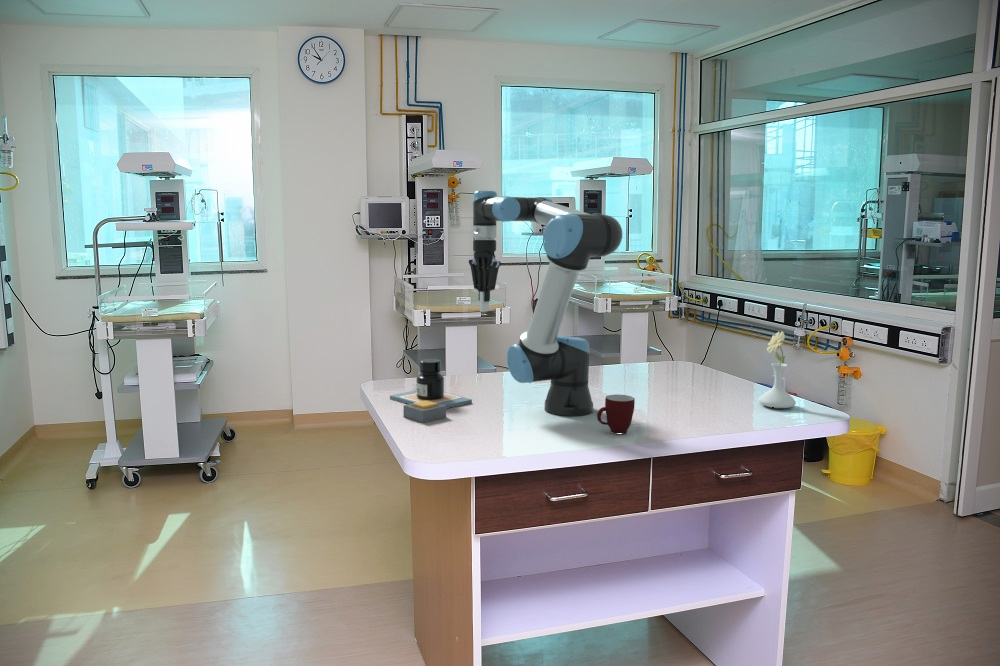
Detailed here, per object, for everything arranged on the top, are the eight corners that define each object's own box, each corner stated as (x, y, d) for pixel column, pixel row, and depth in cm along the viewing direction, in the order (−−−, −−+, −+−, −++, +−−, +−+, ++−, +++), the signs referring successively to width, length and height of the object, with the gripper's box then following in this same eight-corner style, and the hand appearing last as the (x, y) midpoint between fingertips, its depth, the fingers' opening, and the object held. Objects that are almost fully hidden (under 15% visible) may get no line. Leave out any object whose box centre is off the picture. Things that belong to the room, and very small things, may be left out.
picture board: (471, 403, 246) (471, 399, 246) (433, 411, 235) (433, 407, 235) (427, 391, 262) (427, 387, 261) (389, 398, 250) (389, 395, 250)
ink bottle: (414, 394, 252) (414, 358, 250) (441, 393, 254) (441, 357, 252) (418, 401, 242) (418, 364, 241) (446, 399, 245) (446, 363, 243)
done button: (437, 416, 229) (437, 403, 228) (423, 419, 225) (423, 406, 224) (426, 413, 232) (426, 400, 232) (412, 416, 229) (412, 403, 228)
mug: (605, 438, 209) (606, 403, 207) (591, 431, 216) (592, 396, 215) (638, 435, 213) (640, 399, 211) (623, 427, 220) (624, 393, 219)
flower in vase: (758, 401, 254) (763, 326, 250) (795, 404, 250) (800, 328, 246) (757, 410, 241) (762, 331, 238) (796, 413, 238) (801, 334, 234)
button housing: (446, 417, 229) (446, 405, 228) (422, 422, 222) (422, 411, 222) (426, 411, 235) (426, 400, 235) (403, 416, 229) (403, 405, 228)
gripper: (462, 238, 251) (462, 310, 254) (490, 239, 242) (489, 314, 245) (479, 238, 256) (478, 308, 260) (507, 239, 247) (506, 312, 251)
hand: (484, 311), depth 252 cm, fingers closed
